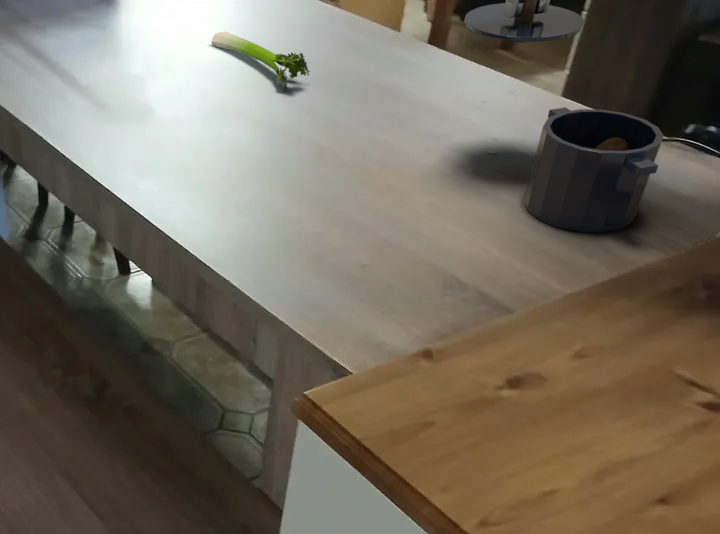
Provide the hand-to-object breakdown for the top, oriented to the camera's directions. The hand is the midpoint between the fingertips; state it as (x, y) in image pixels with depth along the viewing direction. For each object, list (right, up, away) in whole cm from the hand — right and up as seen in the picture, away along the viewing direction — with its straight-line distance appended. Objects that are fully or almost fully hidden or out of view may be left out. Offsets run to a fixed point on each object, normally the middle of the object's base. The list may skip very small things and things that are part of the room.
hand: (525, 14), depth 122 cm
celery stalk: (-29, +12, +46) cm, 56 cm away
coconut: (+8, -24, 0) cm, 25 cm away
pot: (+8, -25, +1) cm, 26 cm away
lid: (0, -1, +1) cm, 1 cm away
